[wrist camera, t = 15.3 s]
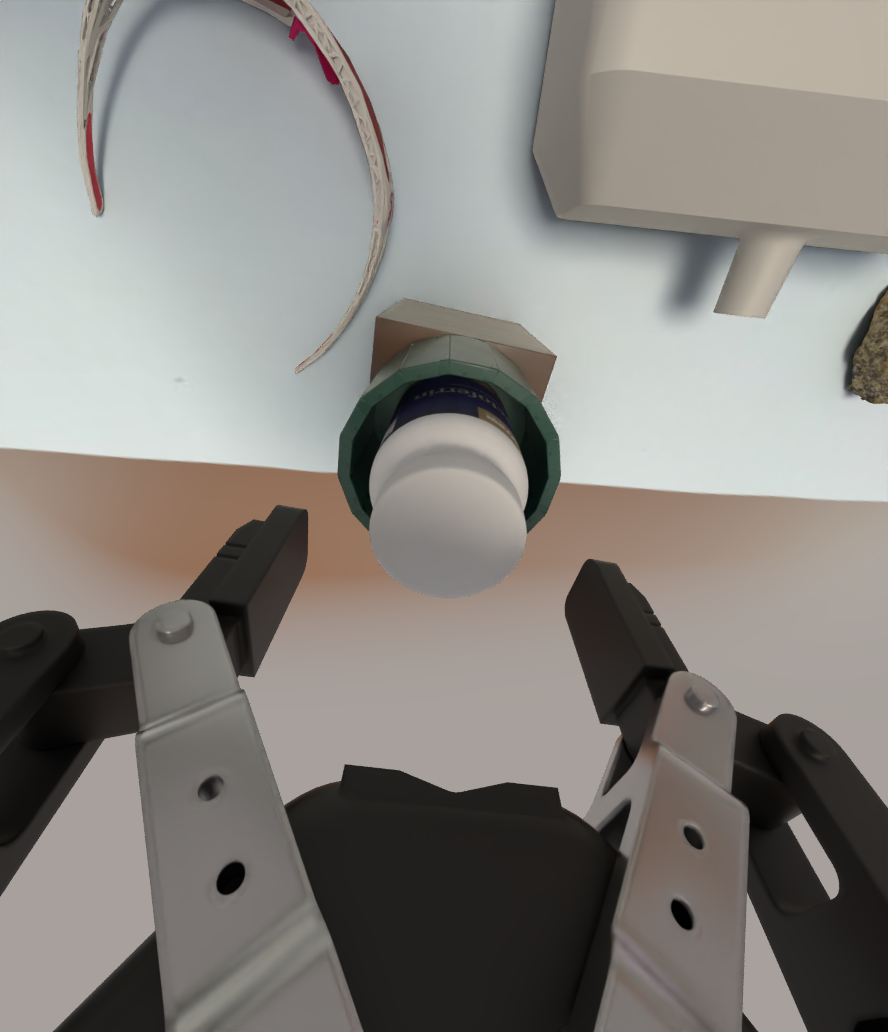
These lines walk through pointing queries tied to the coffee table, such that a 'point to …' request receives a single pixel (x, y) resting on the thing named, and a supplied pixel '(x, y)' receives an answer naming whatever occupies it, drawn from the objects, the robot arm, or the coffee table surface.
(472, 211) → the coffee table surface
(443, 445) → the pill bottle
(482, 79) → the coffee table surface
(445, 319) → the stand
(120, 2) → the red lined headband
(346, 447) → the green faceted bowl
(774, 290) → the tank
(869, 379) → the rock
